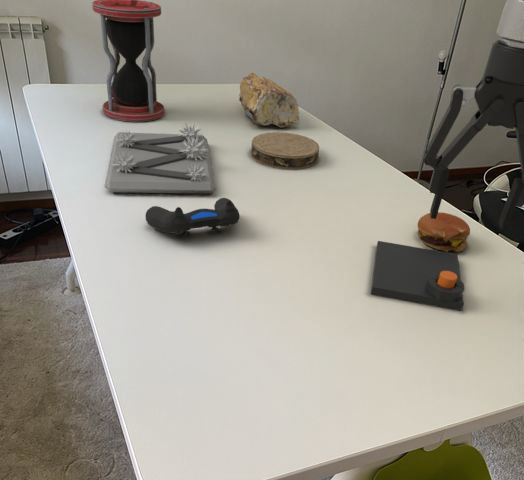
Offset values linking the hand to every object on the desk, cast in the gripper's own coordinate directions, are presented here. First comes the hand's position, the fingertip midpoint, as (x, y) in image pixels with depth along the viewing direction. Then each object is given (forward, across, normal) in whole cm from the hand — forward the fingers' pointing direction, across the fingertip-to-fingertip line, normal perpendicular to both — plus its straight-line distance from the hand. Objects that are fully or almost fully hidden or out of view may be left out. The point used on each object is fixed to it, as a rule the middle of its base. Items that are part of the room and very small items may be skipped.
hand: (467, 220), depth 79 cm
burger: (+14, +1, +20) cm, 24 cm away
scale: (+13, -4, +6) cm, 15 cm away
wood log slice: (+14, -35, +52) cm, 64 cm away
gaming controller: (+14, -43, +8) cm, 46 cm away
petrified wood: (+14, -45, +78) cm, 91 cm away
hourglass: (+14, -79, +66) cm, 104 cm away
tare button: (+11, 0, 0) cm, 11 cm away
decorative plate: (+14, -59, +33) cm, 69 cm away
